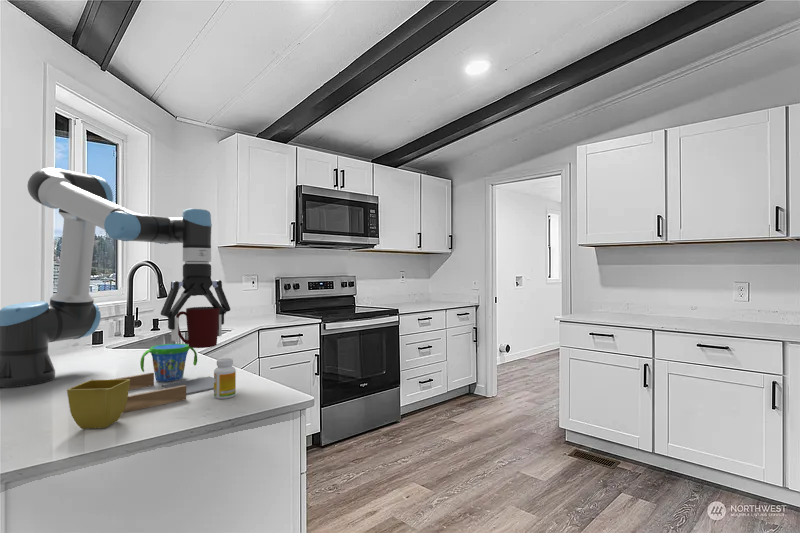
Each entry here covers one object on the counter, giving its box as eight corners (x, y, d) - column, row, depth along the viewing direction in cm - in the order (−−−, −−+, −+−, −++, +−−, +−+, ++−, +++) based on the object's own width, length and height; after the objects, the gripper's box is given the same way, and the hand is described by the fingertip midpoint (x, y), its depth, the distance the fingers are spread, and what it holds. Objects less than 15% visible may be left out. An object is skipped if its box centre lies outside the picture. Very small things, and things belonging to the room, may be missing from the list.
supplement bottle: (239, 394, 124) (239, 358, 124) (226, 400, 119) (226, 362, 119) (223, 392, 126) (223, 357, 126) (209, 398, 121) (209, 360, 121)
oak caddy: (80, 397, 121) (80, 384, 121) (152, 384, 134) (152, 372, 134) (108, 415, 106) (108, 400, 106) (186, 399, 119) (186, 385, 119)
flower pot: (90, 419, 104) (90, 379, 104) (131, 418, 105) (131, 378, 105) (65, 433, 95) (65, 389, 95) (110, 431, 96) (110, 388, 96)
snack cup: (194, 372, 149) (194, 341, 149) (200, 379, 141) (200, 346, 141) (138, 379, 141) (138, 346, 141) (141, 386, 132) (141, 351, 132)
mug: (182, 351, 125) (183, 310, 125) (169, 347, 131) (169, 308, 131) (224, 345, 134) (224, 307, 134) (210, 342, 140) (210, 306, 140)
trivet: (161, 386, 132) (161, 385, 132) (209, 377, 143) (209, 376, 143) (183, 395, 123) (183, 394, 123) (232, 385, 133) (232, 384, 133)
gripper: (158, 262, 121) (158, 345, 121) (242, 263, 139) (242, 335, 139) (147, 263, 126) (147, 342, 126) (229, 263, 144) (229, 332, 144)
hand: (197, 338), depth 133 cm, fingers closed on mug, 12 cm apart
